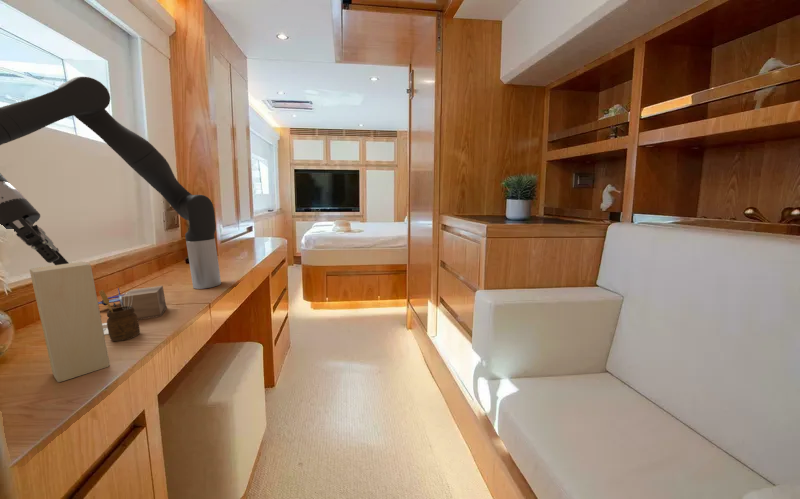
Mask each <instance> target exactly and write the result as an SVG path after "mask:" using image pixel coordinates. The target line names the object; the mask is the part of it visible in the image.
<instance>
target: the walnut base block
mask: <svg viewBox="0 0 800 499" xmlns="http://www.w3.org/2000/svg"><path fill="white" fill-rule="evenodd" d="M127 292H129V293H124V294H125V295H123V296H122V301H123V305H122V306H133V308H134V312H133V313H135V314H136V315H137V318H138V321H139V320H145V319H151V318H152V319H153V318H158V317H159V318H160V317H162V316H163V315H164V313H165V311H166V310H167V306H168V305H167V303H166V298H165V292H164V286H163V285H158V286H149V287H142V288H134V289H130V290H128V291H127ZM128 295H129V296H128ZM131 295H132V296H131ZM124 296H125V305H124ZM128 303H129V305H128ZM131 303H132V305H131Z"/></svg>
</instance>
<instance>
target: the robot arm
mask: <svg viewBox="0 0 800 499" xmlns="http://www.w3.org/2000/svg"><path fill="white" fill-rule="evenodd" d="M110 102H111V95H110V92H109V90H108V88H107V87H106V86H105V85H104V84H103V83H102V82H101V81H99V80H97V79H96V78H93V77H90V76H76V77H73V78H71V79H68V80H67V81H65V82H63V83H61V84H60V85H59V87H58V88H56V89H54V90H52V91H49V92H46V93H44V94H41V95H38V96H35V97H32V98H29V99H24V100H21V101H18V102H15V103H11V104H7V105H3V106H1V107H0V146H2V145H4V144H8V143H10V142H12V141H15V140H18V139H20V138H23V137H26V136H28V135H31V134H33V133H34V132H37V131H40V130H41V129H43V128H46V127H48V126H50V125H52V124H55V123H56V122H59V121H61V120H63V119H66V118H67V119H68V118H69V117H75V118H76V119H77V120H78V121H80V122H81V123H82V124H83V125H85V126H86V127H87V128H89V130H91V131H92V132H93V133H95V134H96V135H97V136H98V137H100V138H101V140H103V142H104V143H106V144H107V145H108V146H109V147H110V149H112V150H113V151H114V152H115V153H116V154H117V155H118V156H119V157H120V158H121V159H122V160H123V161H124V162H125V163H126V164H128V166H130V168H131V169H132V170H134V171H135V172H136V173H137V174H138V176H140V177H142V179H144V180H145V182H147V184H148V185H150V186H151V187H153V189H154V190H155V191H156V192H158V193H159V195H161V196H162V197H163V198H164V199H165V201H166V202H167V203H168V204H169V205H170V206H171V207H172V208H173V209H174V211H175V212H176V213H177V214H178V216H180V217H181V218H182V219H184V220H187V221H188V222H189V223H188V225H189V228H188V230H187V231H186V232H185V235H184V236H185V243H186V249H187V251H186V252H187V257H188V262H189V269H190V275H191V282H192V288H193V289H195V290H197V289H198V290H201V289H210V288H213V287H217V286H221V284H222V279H221V272H220V264H219V260H218V259H219V257H218V252H217V251H218V250H217V245H216V237H215V234H216V230H217V229H216V228H217V226H216V215H215V214H216V213H215V207H214V204H213V201H212V200H211V199H210V198H209V197H208V196H206V195H205V194H204V195H203V194H192V193H191V192H190V191H188V190H187V189H186V188H185V187H184V186H183V185H182V184H181V183H180V182H179V181H178V179H177V178H176V176H175V174H174V172H173V170H172V168H171V166H170V164H169V162H168V161H167V160H166V158H165V156H164V155H162V154H161V153H160V152H159V151H158V150H157V149H156V147H154V145H153V144H152V143H150V142H149V141H148V140H147V139H145V138H144V137H142V136H141V135H139V134H138V133H136V132H134V131H132V130H131V129H128V128H127V127H126V126H124V125H123V124H122V123H120V122H118V121H117V120H116V119H115V118H114V117H113V116H112V115H111V114H110V113H109V111H107V110H106V108H107V107H108V106H109V105H110ZM40 218H41V214H40V213H39V212H38V210H37V209H36V208H35V207H34V206H33V205H32V204H31V202H30V201H29V200H28V199H27V198H26V197H25V196H24V195H23V194H22V193H21V191H19V190H18V189H17V188H16V187H14V186H13V185H12V184H11V183H10V182H9V180H8V179H6V177H5V176H4V175H3V174H2V173H1V172H0V224H1V225H3V226H4V227H5V228H6V229H14V232H16V236H17V237H18V238H19V239H20V240H21V241H22V242H23V243H24V244H26V245H27V246H29V247H30V248H31V250H35V251H36V252H37V253H38V254H39V256H41V258H43V259H44V260H45V262H47V263H49V264H50V263H53V264H54V265H61V264H69V263H70V262H69V261H68V260H67V259H66V258H65V257H64V256H63V255H62V254H61V253H60V250H59V248H58V247H56V245H55V244H54V242H53V240H52V239H51V238H50V237H49V236H48V235H47V234H46V232H45V231H44V229H42V228H41V227H40V226H39V225H38V224H35V223H36V222H38V221H39V220H40ZM34 224H35V225H34Z"/></svg>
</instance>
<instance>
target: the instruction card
mask: <svg viewBox="0 0 800 499" xmlns="http://www.w3.org/2000/svg"><path fill="white" fill-rule="evenodd" d="M102 326H103V331H104V336H107V335H108V336H109V332H108V327H107V322H104V323H103V322H102Z"/></svg>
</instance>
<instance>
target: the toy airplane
mask: <svg viewBox="0 0 800 499" xmlns="http://www.w3.org/2000/svg"><path fill="white" fill-rule="evenodd" d="M117 291H118V294H117V295H113V296H107V297H108V299H109V304H110V303H112V304H113V307H114V308H116V306H117V304H116V303H117V302H119V303H120V305H121V304H122V305H121V306H123V301H122V296H123V295H125V294H126V293H122V294H123V295H122V294H121V291H120V289H119V287H117ZM121 295H122V296H121ZM101 304H102V305H103V306H108V305H107V304H106V303H104V301H103V299H102V300H101V301H98V305H101Z"/></svg>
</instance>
